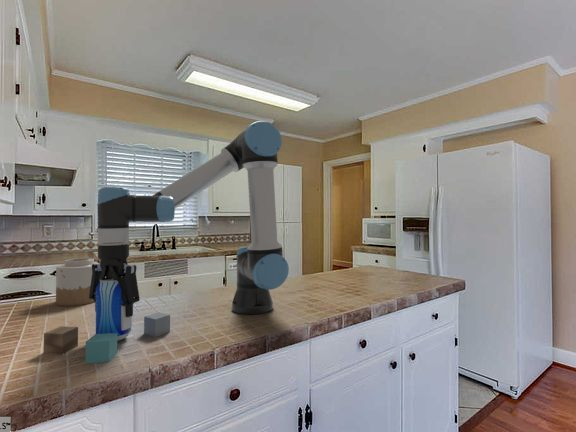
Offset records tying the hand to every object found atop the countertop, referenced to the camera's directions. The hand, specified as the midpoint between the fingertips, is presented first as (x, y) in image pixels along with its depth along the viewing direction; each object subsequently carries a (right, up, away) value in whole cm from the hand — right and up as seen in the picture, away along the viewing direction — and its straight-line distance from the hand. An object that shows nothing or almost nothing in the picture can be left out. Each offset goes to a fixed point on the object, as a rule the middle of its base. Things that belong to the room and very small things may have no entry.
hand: (113, 326), depth 86 cm
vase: (-36, -4, +41) cm, 55 cm away
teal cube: (+3, -4, -11) cm, 12 cm away
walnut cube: (-10, -4, -6) cm, 12 cm away
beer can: (0, -3, 0) cm, 3 cm away
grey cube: (+9, -4, +6) cm, 12 cm away
